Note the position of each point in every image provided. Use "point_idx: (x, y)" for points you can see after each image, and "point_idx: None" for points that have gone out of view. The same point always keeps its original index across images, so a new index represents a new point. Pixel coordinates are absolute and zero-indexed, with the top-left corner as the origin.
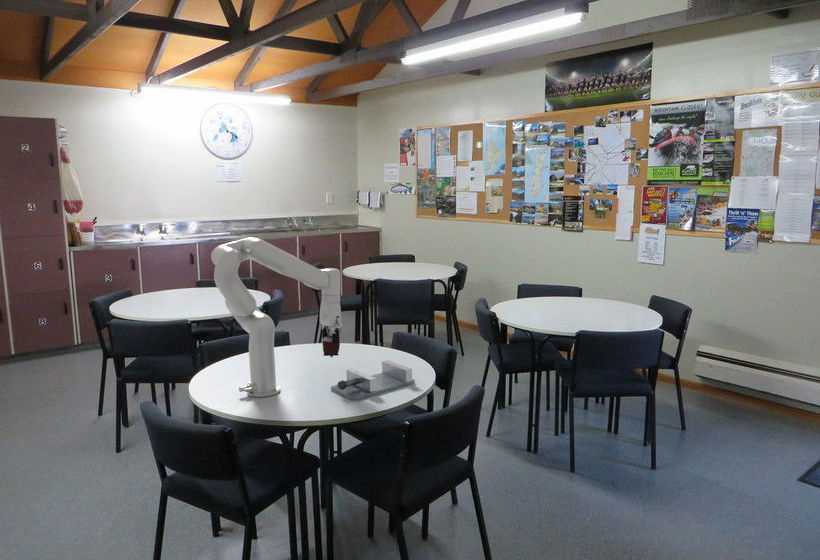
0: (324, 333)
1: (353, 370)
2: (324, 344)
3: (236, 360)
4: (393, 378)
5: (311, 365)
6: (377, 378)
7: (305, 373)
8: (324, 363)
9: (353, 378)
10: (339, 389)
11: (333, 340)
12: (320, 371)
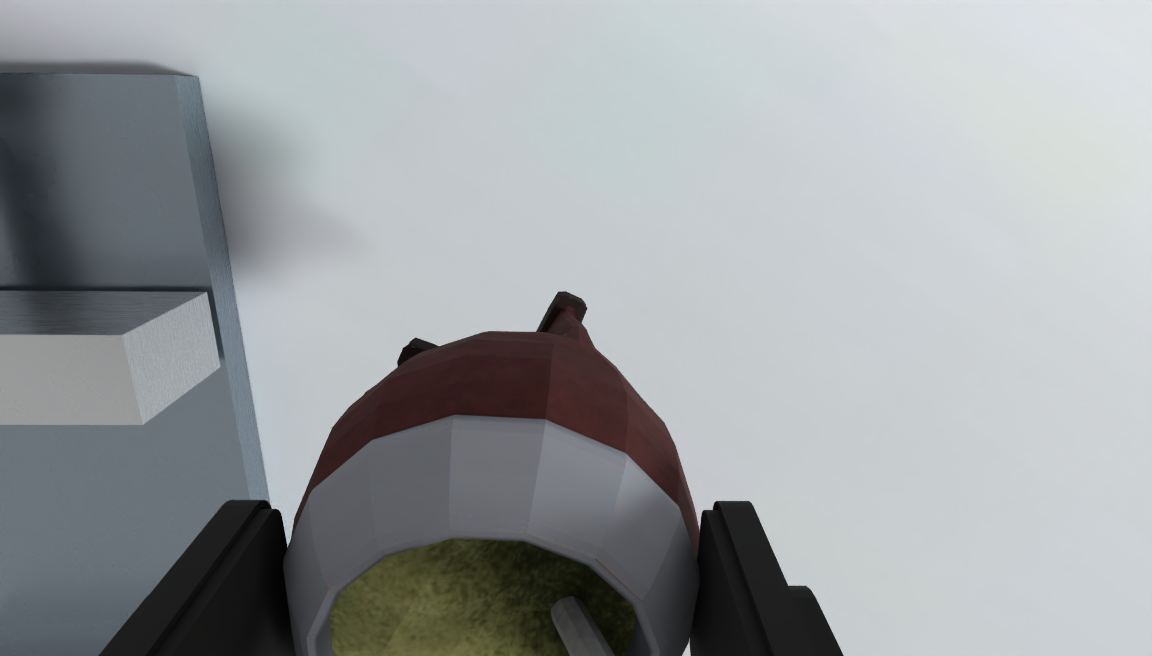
0: (738, 650)
1: (54, 388)
2: (469, 359)
3: None
4: (79, 645)
5: (1027, 352)
6: (154, 555)
7: (869, 164)
8: (965, 474)
9: (18, 310)
10: (29, 95)
11: (198, 554)
12: (797, 320)
